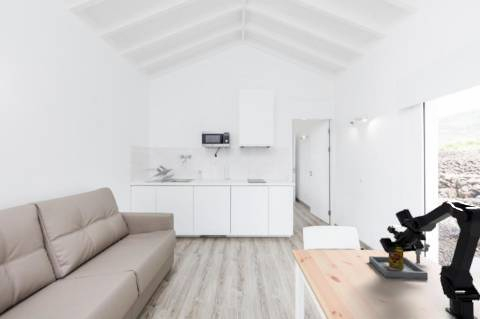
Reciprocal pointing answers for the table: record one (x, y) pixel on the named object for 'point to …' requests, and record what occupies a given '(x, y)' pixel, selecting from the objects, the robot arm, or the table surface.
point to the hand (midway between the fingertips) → (392, 251)
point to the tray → (412, 268)
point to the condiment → (396, 260)
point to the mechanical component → (418, 252)
